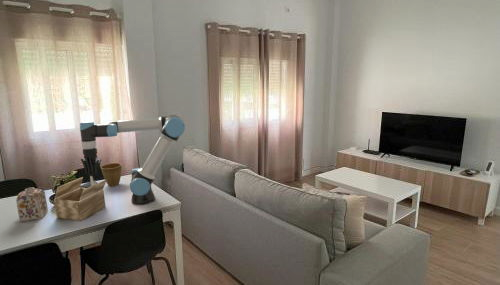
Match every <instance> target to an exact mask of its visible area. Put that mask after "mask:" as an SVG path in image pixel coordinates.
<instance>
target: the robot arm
mask: <svg viewBox="0 0 500 285" xmlns="http://www.w3.org/2000/svg"><path fill="white" fill-rule="evenodd" d="M185 127H186V126H185V122H184V120H183V119H182V118H181V117H180V116H178V115H176V114H175V115H174V114H173V115H172V114H171V115H168V116H166V115H165V116H159V117H158V118H145V119H130V120H129V119H128V120H107V121H105V122H104V123H102V124H96V123H95V122H94V121H92V120H87V121H85V120H84V121H80V123H79V131H80V139H81V147H82V155H83V157H82V158H80V161H81V163H82V165H83V169H84V171H85V174H86V175H88V176H89V182H91V186H93V185H95V184H96V182H97V175H99V174H100V170H101V162H102V159H99V157H98V148H97V138H106V137H107V138H113V137H116V136H118V134H119V133H131V132H133V133H134V132H148V131H149V132H150V131H151V132H152V131H159V133H160V137H159V138H158V140H157V142H156V143H155V145H154V147H153V148H152V150H151V152H150V154H149V155H148V157H147V158H146V159H145V160H146V161H145V162H144V164H143V166H142V167H136V168H132V169H131V173H130V174H131V181H130V183H129V190H130V192H131V193H132V194H131V195H132V196H131V204H132V205H136V206H144V205H149V204H152V203H153V202H155V200H156V196H155V193H154V191H153V189H152V184H153V182H154V181H155V179H156V176H155V174H156V172H157V171H158V169H159V167H160V166H161V164H162V162H163V161H164V158H165V157H166V155H167V153H168V152H169V150H170V149H171V147H172V145H173V143H175V142H178V140H179V138H180V137H181V136H182V135H183V134H184V132H185V130H186V128H185Z"/></svg>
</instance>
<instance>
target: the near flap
mask: <svg viewBox="0 0 500 285" xmlns="http://www.w3.org/2000/svg"><path fill="white" fill-rule="evenodd" d="M106 184H107V182H106V180H105V179H104V180H102V181H99V182H97V184H95V185H93V186H91V187H89V188H86V189H84V190H83V192H82V194H81V197H80V200H79V201H81V200H83V199H85V198H87V197H89V196H91V195H93V194H95V193H97V192H99V191H101V190H104V187H105V185H106Z"/></svg>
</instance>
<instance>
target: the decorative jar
mask: <svg viewBox="0 0 500 285" xmlns="http://www.w3.org/2000/svg"><path fill="white" fill-rule="evenodd" d="M45 192H46V191H44V190H42V189H40V188H35V187H33V186H32V187H28V188H27V187H26V188H25V189H24V190H23V191H21V192H19V193H18V194H17V197H16V200H15V201H16V208H17V213H18V217H19V218H18V219H19V222H24V221H25V222H26V221H33V220H42V219H43V217H44V216H45V215H46V214H47V213H48V212H49V208H48V203H47V197H46V193H45Z"/></svg>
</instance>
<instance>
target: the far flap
mask: <svg viewBox="0 0 500 285" xmlns="http://www.w3.org/2000/svg"><path fill="white" fill-rule="evenodd" d="M83 178H84V177H83V176H82V177H79V178H76V179H74V180H72V181H69V182H67V183H65V184H62V185H59V186H57V187H56V192H55V196H54V199H56V198H58V197H60V196H63V195H65V194H67V193H70V192H72V191H74V190H76V189H79V188H80V186H81V185H82V182H83Z"/></svg>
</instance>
